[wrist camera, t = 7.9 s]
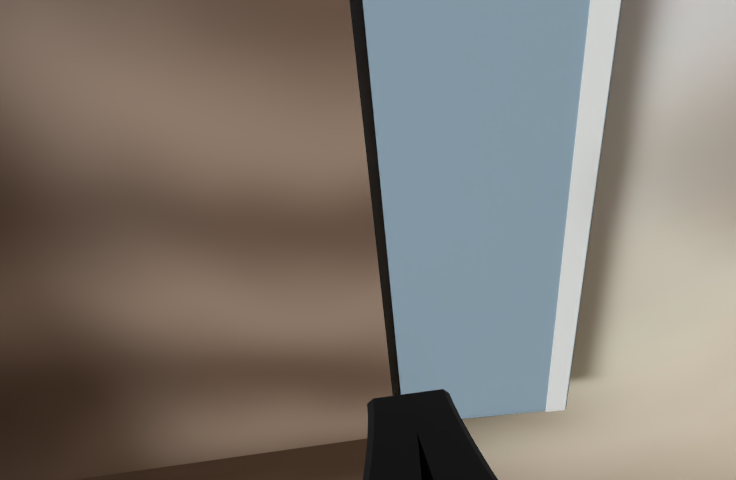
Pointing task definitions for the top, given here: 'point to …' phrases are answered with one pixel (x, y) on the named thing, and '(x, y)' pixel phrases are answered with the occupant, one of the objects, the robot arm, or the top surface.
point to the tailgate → (489, 188)
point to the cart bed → (185, 242)
